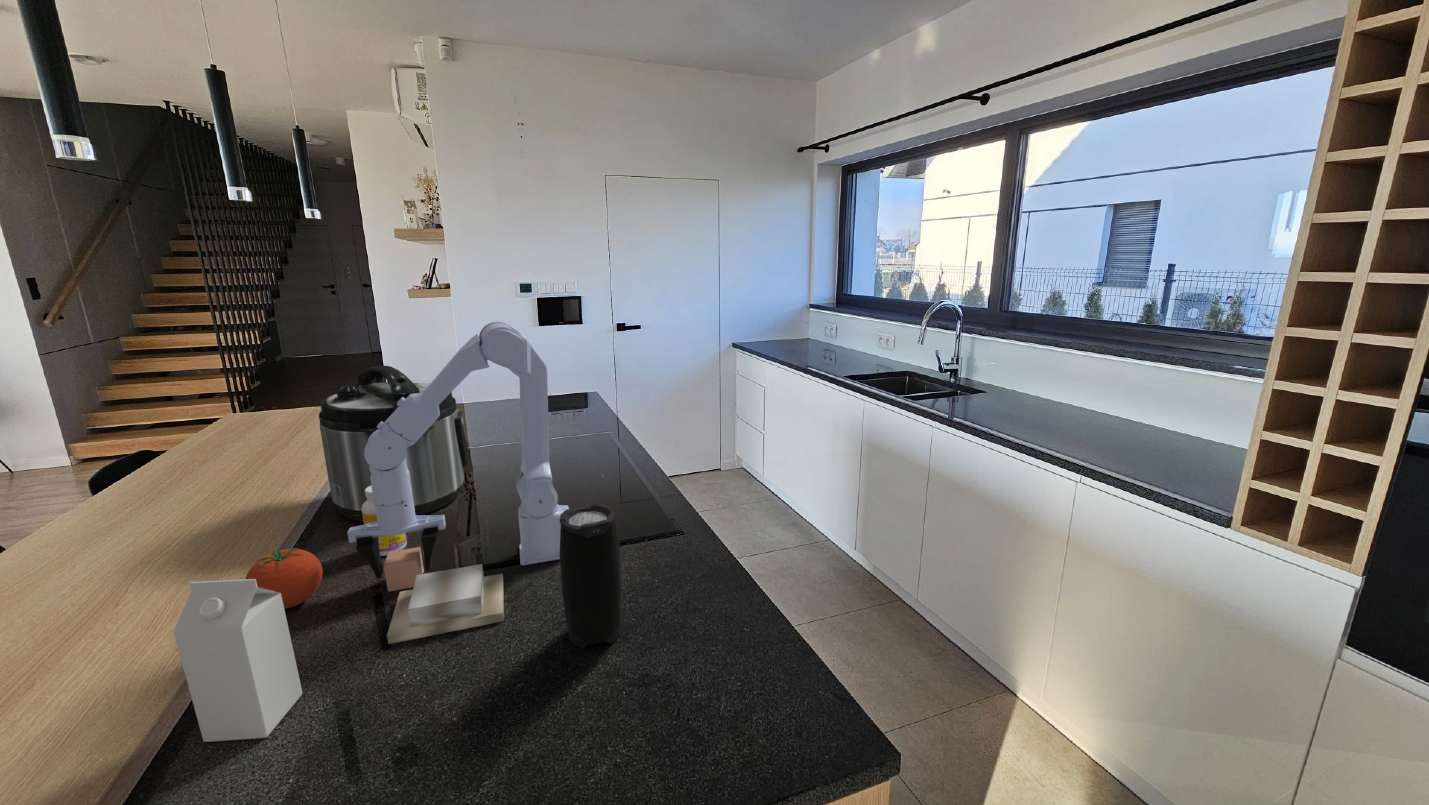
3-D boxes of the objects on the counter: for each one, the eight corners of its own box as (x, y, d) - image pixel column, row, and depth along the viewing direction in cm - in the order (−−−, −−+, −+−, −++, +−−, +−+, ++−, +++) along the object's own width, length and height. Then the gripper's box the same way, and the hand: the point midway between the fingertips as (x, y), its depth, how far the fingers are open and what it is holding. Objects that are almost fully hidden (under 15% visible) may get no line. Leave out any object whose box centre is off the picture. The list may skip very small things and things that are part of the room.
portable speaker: (614, 609, 93) (608, 496, 88) (632, 643, 85) (627, 521, 80) (560, 623, 89) (551, 507, 84) (573, 661, 81) (564, 534, 76)
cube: (424, 571, 104) (420, 546, 103) (420, 586, 100) (416, 560, 98) (393, 577, 103) (388, 551, 101) (388, 592, 98) (383, 565, 97)
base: (503, 581, 101) (500, 558, 100) (503, 621, 90) (501, 595, 89) (401, 599, 96) (397, 575, 95) (388, 644, 85) (383, 617, 84)
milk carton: (245, 698, 75) (213, 566, 70) (303, 694, 75) (275, 563, 70) (203, 743, 68) (163, 600, 63) (267, 739, 68) (233, 597, 64)
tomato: (319, 580, 102) (309, 528, 99) (334, 604, 95) (323, 548, 92) (246, 604, 95) (233, 549, 92) (255, 632, 88) (242, 573, 85)
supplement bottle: (390, 559, 108) (380, 495, 105) (360, 556, 110) (349, 493, 107) (415, 542, 115) (406, 482, 112) (386, 539, 116) (376, 479, 113)
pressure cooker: (458, 522, 123) (439, 377, 115) (309, 536, 118) (279, 384, 110) (481, 472, 152) (467, 352, 144) (362, 481, 146) (341, 357, 138)
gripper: (443, 484, 103) (451, 553, 107) (350, 496, 99) (362, 567, 102) (439, 500, 97) (448, 572, 100) (339, 513, 92) (353, 588, 96)
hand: (404, 571), depth 101 cm, fingers open, 7 cm apart
